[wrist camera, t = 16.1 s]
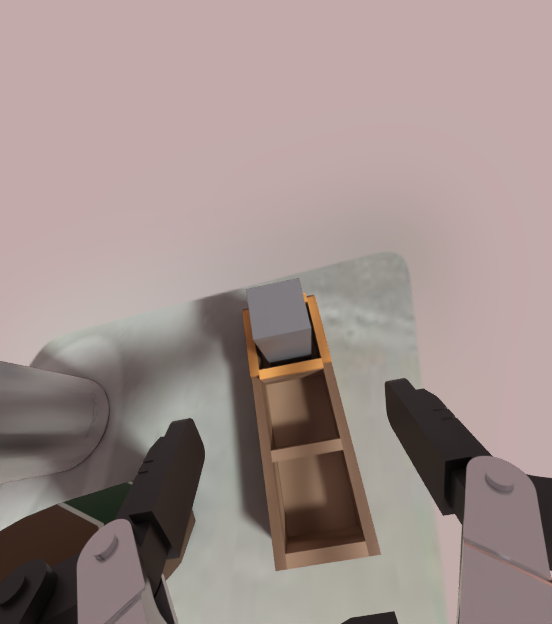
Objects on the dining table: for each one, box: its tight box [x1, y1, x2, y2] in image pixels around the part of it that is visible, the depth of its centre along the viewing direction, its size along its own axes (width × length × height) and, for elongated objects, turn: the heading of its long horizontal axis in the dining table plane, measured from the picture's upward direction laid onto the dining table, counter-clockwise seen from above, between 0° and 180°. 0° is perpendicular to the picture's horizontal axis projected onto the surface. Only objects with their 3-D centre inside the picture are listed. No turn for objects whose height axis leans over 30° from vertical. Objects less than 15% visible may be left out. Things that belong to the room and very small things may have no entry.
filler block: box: [246, 278, 311, 368], centre depth 23 cm, size 4×4×10 cm
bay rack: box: [242, 293, 381, 571], centre depth 23 cm, size 7×21×4 cm, turn 10°
